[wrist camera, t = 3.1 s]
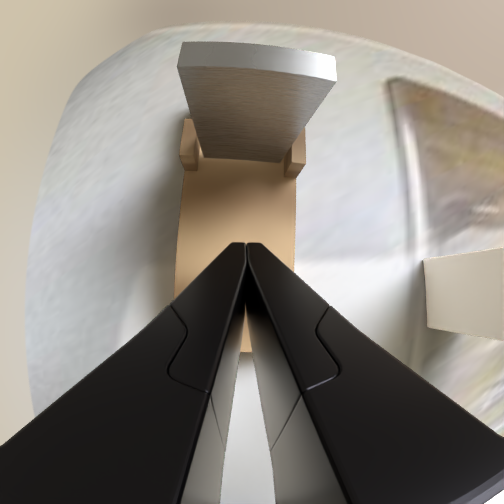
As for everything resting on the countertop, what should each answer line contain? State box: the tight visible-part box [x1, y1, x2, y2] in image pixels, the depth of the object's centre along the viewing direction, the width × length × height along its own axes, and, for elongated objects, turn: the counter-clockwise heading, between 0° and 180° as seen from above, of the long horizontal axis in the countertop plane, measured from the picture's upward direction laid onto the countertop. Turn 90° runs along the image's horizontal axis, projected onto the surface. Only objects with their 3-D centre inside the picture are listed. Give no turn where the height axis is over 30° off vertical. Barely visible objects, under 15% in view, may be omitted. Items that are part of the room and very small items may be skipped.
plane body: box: [174, 119, 306, 352], centre depth 18 cm, size 18×7×5 cm, turn 177°
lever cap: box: [177, 42, 337, 163], centre depth 12 cm, size 2×5×10 cm, turn 87°
